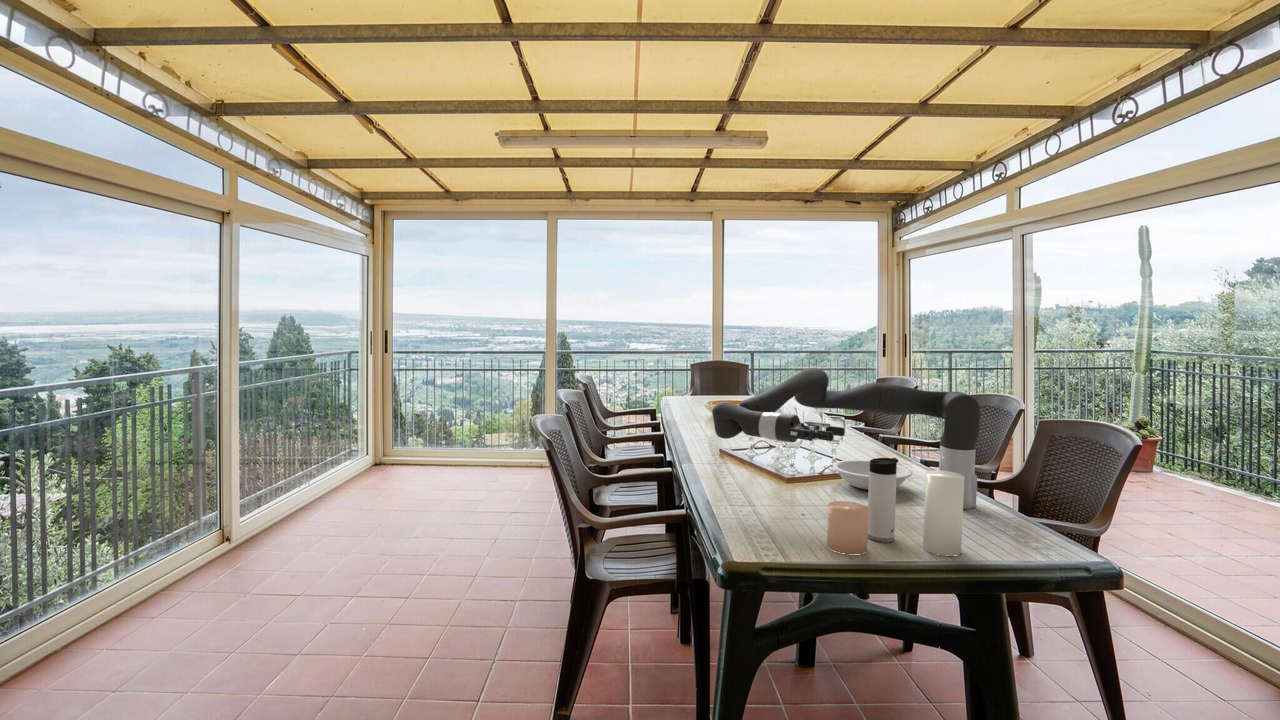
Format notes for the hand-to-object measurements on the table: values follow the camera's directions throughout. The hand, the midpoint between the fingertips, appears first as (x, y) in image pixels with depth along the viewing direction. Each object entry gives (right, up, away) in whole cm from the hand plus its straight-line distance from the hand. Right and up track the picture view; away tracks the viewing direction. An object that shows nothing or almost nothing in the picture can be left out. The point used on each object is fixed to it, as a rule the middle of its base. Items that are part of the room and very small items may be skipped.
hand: (838, 434), depth 151 cm
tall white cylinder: (+20, -26, -12) cm, 35 cm away
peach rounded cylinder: (-2, -25, -12) cm, 28 cm away
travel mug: (+9, -25, -5) cm, 27 cm away
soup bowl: (+24, -23, +40) cm, 52 cm away
